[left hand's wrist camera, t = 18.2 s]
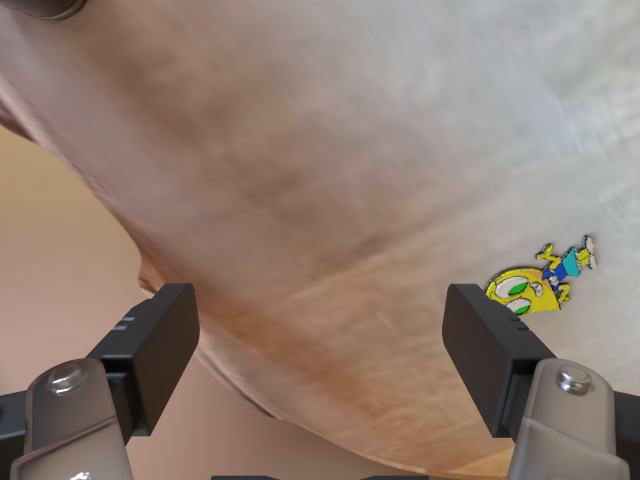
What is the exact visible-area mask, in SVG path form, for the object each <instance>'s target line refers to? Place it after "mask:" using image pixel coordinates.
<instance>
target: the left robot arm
mask: <svg viewBox="0 0 640 480" xmlns="http://www.w3.org/2000/svg"><path fill="white" fill-rule="evenodd" d="M84 1H85V0H0V5H2V6H5V7H8V8H11V9H14V10H17V11H20V12H22V13H24V14H26V15H29V16H32V17H35V18H38V19H42V20H48V21H56V20H62V19H65V18H67V17H69V16H71V15H73V14H74V13H75V12H76V11H77V10H78V9H79V8H80V7H81V6H82V4H83V3H84ZM199 334H200V326H199V318H198V311H197V304H196V297H195V290H194V287H193V285H192V284H191V283H166V284H164V285H163V287H162V288H161V289H160V290H159V291H158V292H157V293H156V294H155V296H154V297H153V298H152V299H146V300H145V301H143V302H141V303H140V304H138V305H136V306H135V307H133V308H132V309H131V310H130V311H129V312H128V313H127V314H126V315H125V316H124V317H123V318H122V321H119V322H118V323H117V324H116V325H115V327H114V329H113V330H111V331H110V332H109V333H108V334H107V335H106V336H105V337H104V338H103V339H102V340H101V341H100V342H99V343H98V345H97V346H96V347H95V348H94V349H93V350H92V351H91V352H90V353H89V354H88V355H87V356H86V357H85V358H81V359H75V360H71V361H67V362H64V363H62V364H59V365H57V366H55V367H52V368H51V369H49V370H47V371H45V372H44V373H42V374H41V375H40V376H38V377H37V378H36V379H35V380H34V381H33V382H32V383H31V384H30V386H29V387H28V389H27V390H26V391H21V392H16V393H11V394H7V395H2V396H0V480H134V478H133V475H132V471H131V467H130V463H129V459H128V456H127V452H126V448H125V447H126V445H127V443H128V441H129V440H130V438H131V436H150V435H151V433H152V431H153V429H154V428H155V426H156V424H157V422H158V420H159V418H160V416H161V414H162V412H163V410H164V408H165V406H166V405H167V402H168V401H169V399H170V397H171V395H172V393H173V391H174V389H175V387H176V385H177V383H178V381H179V380H180V378H181V376H182V374H183V372H184V370H185V368H186V366H187V364H188V362H189V360H190V358H191V356H192V355H193V353H194V351H195V349H196V347H197V344H198V341H199ZM442 337H443V342H444V345H445V348H446V350H447V352H448V353H449V355H450V357H451V359H452V361H453V363H454V365H455V367H456V369H457V371H458V372H459V374H460V376H461V378H462V380H463V382H464V384H465V386H466V388H467V390H468V391H469V393H470V395H471V397H472V399H473V401H474V403H475V405H476V407H477V409H478V410H479V412H480V414H481V416H482V418H483V420H484V422H485V424H486V426H487V428H488V429H489V431H490V433H491V435H492V437H493V438H512V439H513V441H514V443H515V448H514V452H513V456H512V459H511V463H510V467H509V471H508V474H507V478H506V480H640V396H635V395H631V394H626V393H621V392H617V391H613V389H612V387H611V386H610V384H609V383H608V382H607V381H606V380H605V379H604V378H603V377H602V376H600V375H599V374H598V373H596V372H595V371H593V370H591V369H589V368H588V367H586V366H583V365H581V364H579V363H576V362H573V361H569V360H565V359H559V358H557V357H556V356H555V355H554V354H553V353H552V352H551V351H550V350H549V349H548V348H547V347H546V346H545V344H544V343H543V342H542V341H541V340H540V339H539V338H538V337H537V336H536V335H535V334H534V333H533V332H532V331H529V328H528V327H527V326H526V325H525V324H524V322H523V321H520V318H519V317H518V316H517V315H516V314H515V313H514V312H513V311H512V310H511V309H510V308H508V307H507V306H505V305H503V304H502V303H500V302H498V301H496V300H491V299H490V298H489V297H488V296H487V295H486V294H485V292H484V291H483V290H482V289H481V288H480V287H479V286H478V285H477V284H450V286H449V287H448V291H447V297H446V304H445V311H444V318H443V325H442ZM211 480H279V479H275V478H271V477H268V476H212V478H211ZM361 480H429V478H428V476H372V477H369V478H365V479H361Z"/></svg>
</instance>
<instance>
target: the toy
mask: <svg viewBox="0 0 640 480" xmlns="http://www.w3.org/2000/svg"><path fill="white" fill-rule="evenodd" d="M583 244H584V248H582V249H580V250H579V251H578V252H577V250H576V249H575V248H574V247H571V248H570V250H569V251H568V252H567V253H566V255H565V256H564V258H563V259H562V258H560V257H559V256H554V255H551V252H552V249H551V248H552V246H551V244H547V245H546V246H545V247H544V249H543V251H542V252H541V253H538V254H537V255H536V256H535V258H536V259H542V258H543V259H546V260H550V261H551V262H550V263H549V264H548V265H547V266H546V267H545V269H544V270H543V271H542V270H541V269H538V268H535V267H516V268H511V269H508V270H505V271H503V272H501V273H499V274H498V275H496V276H495V277H494V278H493V279H492V280H490V282H489V283H488V284H487V286H486V288H485V290H484V292H485V294H486V295H487V296H488V297H489V298H490V299H491V300H496V301H498V302H500V303H502V304H503V305H505V306H507V307H508V308H510V309H511V310H512V311H513V312H514V313H516V315H517V316H518V317H519V316H520V315H526V314H530V313H534V312H540V311H556V310H557V311H560V310H561V308H560V305H559V304H558V302H561V301H566V302H568V300H571V299H570V297H569V296H568V295H567V293H568V290H569V288H570V287H569V284H568V283H561V284H559V282H560V281H561V280H563V279H564V278H565V277H566V276H567V275H570V276H573V277H578V276H579V275H582V274H581V273H580V272H581V270H580V269H581V268H580V267H579V266H584V265H586V264H587V265H588V267H589V269H592V270H596V264H595V259H594V256H593V255H592V254H593V247H594V246H593V244H592V240H591V239H590V238H589V237H588V236H586V235H585V236H584V239H583ZM582 253H583V254H582ZM572 254H573V255H572ZM580 255H581V256H580ZM587 255H588V256H587ZM550 257H551V258H550ZM558 259H559V260H558ZM553 260H554V261H553ZM553 265H554V266H553ZM521 271H522V272H521ZM526 274H527V275H526ZM550 274H551V275H550ZM549 275H550V276H549ZM525 276H526V277H525ZM537 277H538V279H537ZM563 277H564V278H563ZM516 278H518V279H516ZM554 278H555V279H554ZM522 279H523V280H522ZM509 280H510V281H509ZM542 281H543V283H542ZM504 283H505V284H504ZM493 285H494V286H493ZM545 285H547V286H545ZM524 286H525V287H524ZM550 286H551V287H550ZM566 286H567V287H566ZM500 287H501V288H500ZM522 288H523V289H522ZM556 288H557V289H556ZM490 289H491V290H490ZM499 289H500V290H499ZM566 289H567V290H566ZM520 290H521V291H520ZM547 290H548V291H547ZM557 290H561V291H560V292H559V294H558V296H557V297H556V295H555V293H554V291H557ZM490 291H492V292H490ZM497 293H498V294H497ZM540 296H541V297H540ZM492 297H493V298H492ZM564 298H565V299H564ZM515 302H516V303H515ZM553 309H554V310H553Z"/></svg>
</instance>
